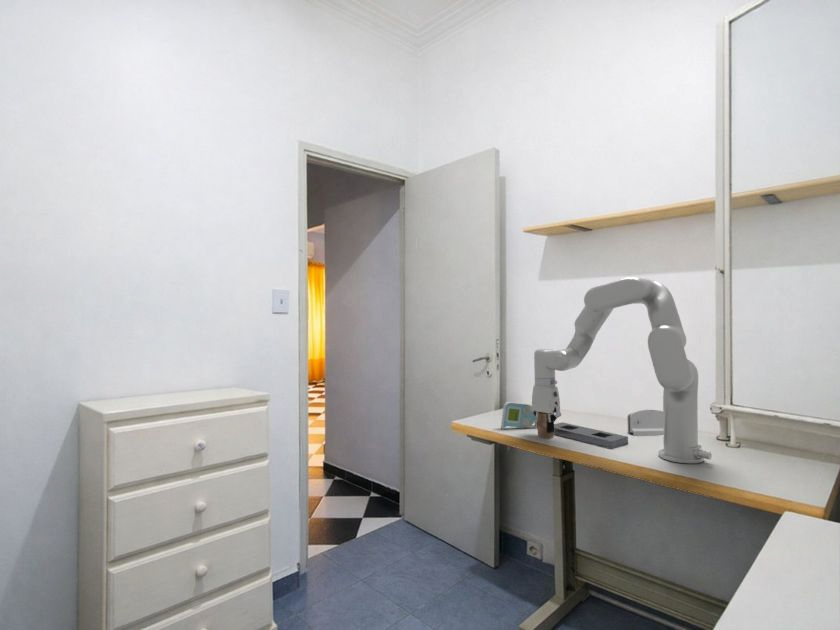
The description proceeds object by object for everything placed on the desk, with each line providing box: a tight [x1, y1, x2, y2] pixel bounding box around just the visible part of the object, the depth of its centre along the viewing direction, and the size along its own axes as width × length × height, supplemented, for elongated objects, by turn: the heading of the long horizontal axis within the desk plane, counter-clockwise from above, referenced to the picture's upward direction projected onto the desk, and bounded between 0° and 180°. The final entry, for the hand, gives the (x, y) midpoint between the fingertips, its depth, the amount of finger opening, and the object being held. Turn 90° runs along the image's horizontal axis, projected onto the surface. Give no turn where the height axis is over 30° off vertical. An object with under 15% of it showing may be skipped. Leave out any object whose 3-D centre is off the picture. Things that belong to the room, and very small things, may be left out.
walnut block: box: [537, 412, 554, 439], centre depth 177 cm, size 4×4×9 cm
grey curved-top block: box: [626, 409, 664, 437], centre depth 180 cm, size 17×5×10 cm, turn 91°
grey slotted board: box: [553, 422, 629, 450], centre depth 174 cm, size 28×10×2 cm, turn 35°
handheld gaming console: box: [500, 401, 537, 430], centre depth 190 cm, size 11×3×15 cm
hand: (545, 430), depth 177 cm, fingers closed on walnut block, 3 cm apart
